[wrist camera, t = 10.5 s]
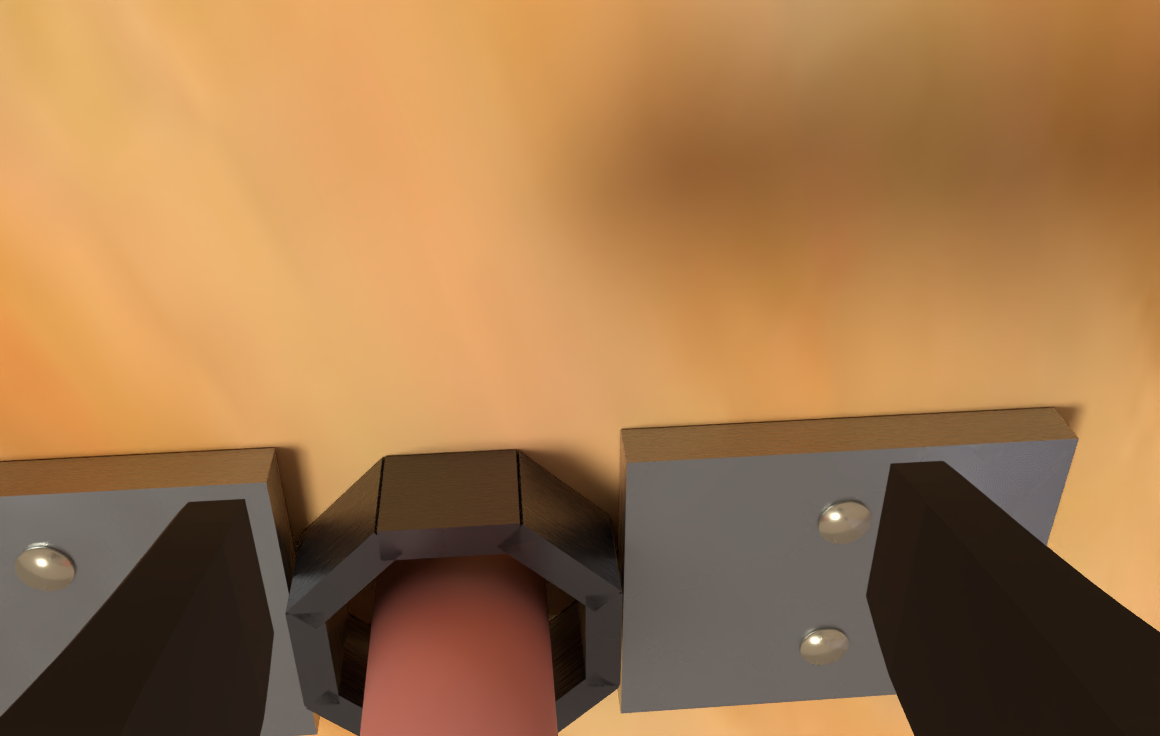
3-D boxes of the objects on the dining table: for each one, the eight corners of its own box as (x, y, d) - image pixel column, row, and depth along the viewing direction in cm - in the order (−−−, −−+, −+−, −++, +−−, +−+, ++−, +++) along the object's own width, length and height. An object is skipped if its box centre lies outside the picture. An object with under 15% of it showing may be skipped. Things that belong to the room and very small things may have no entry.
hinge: (986, 651, 30) (1025, 727, 27) (-79, 723, 28) (-125, 810, 26) (1054, 407, 25) (1107, 475, 23) (-203, 472, 23) (-270, 552, 21)
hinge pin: (546, 625, 28) (570, 933, 21) (386, 635, 27) (358, 951, 21) (542, 502, 26) (567, 802, 19) (368, 512, 25) (331, 820, 19)
